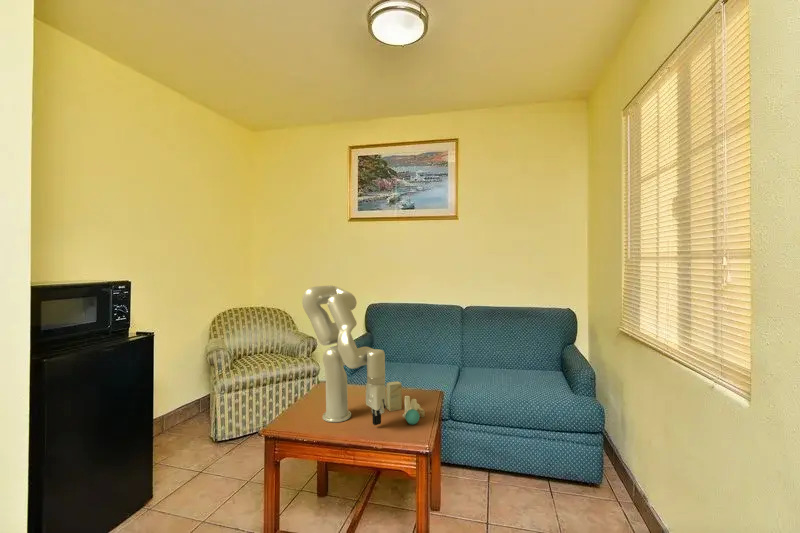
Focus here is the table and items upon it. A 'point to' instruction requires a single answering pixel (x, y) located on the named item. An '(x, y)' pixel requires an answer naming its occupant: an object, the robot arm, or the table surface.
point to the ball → (412, 416)
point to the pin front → (409, 409)
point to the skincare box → (394, 396)
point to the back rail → (420, 412)
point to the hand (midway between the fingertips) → (376, 423)
